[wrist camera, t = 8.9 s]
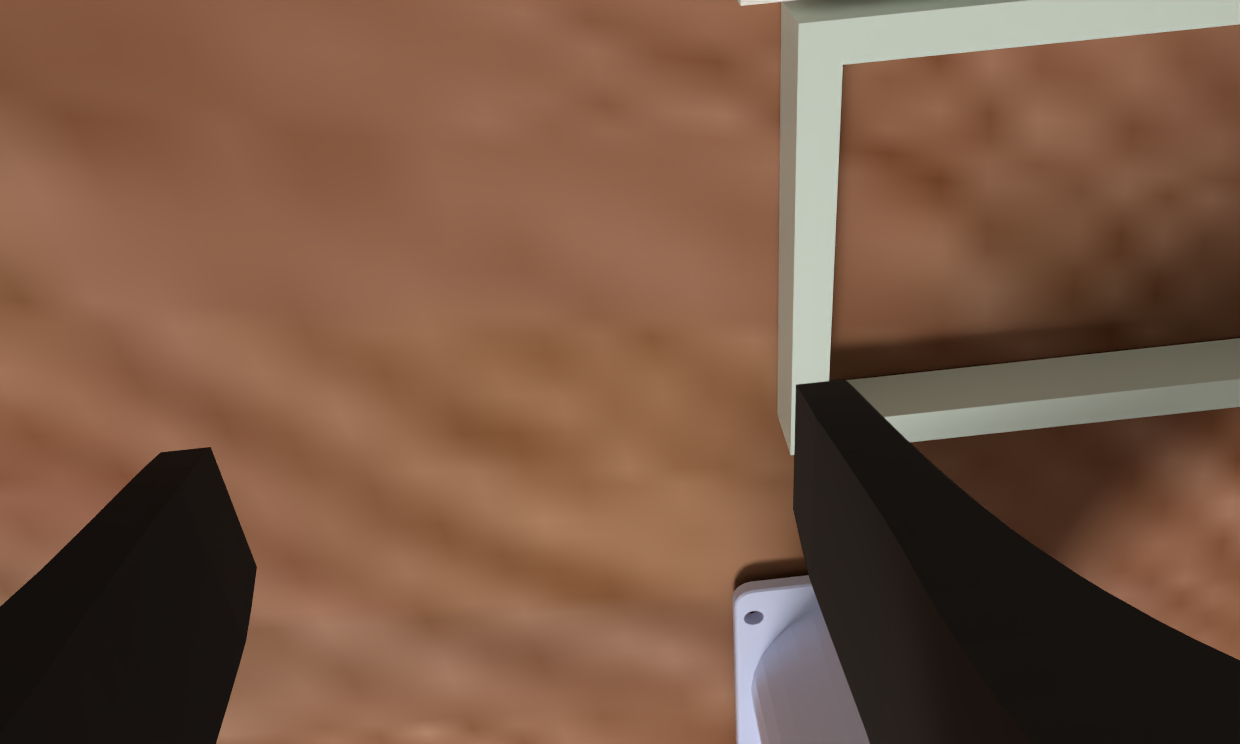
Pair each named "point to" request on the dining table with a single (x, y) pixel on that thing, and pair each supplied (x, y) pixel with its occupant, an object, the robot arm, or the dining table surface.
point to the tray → (758, 1)
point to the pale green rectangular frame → (809, 156)
